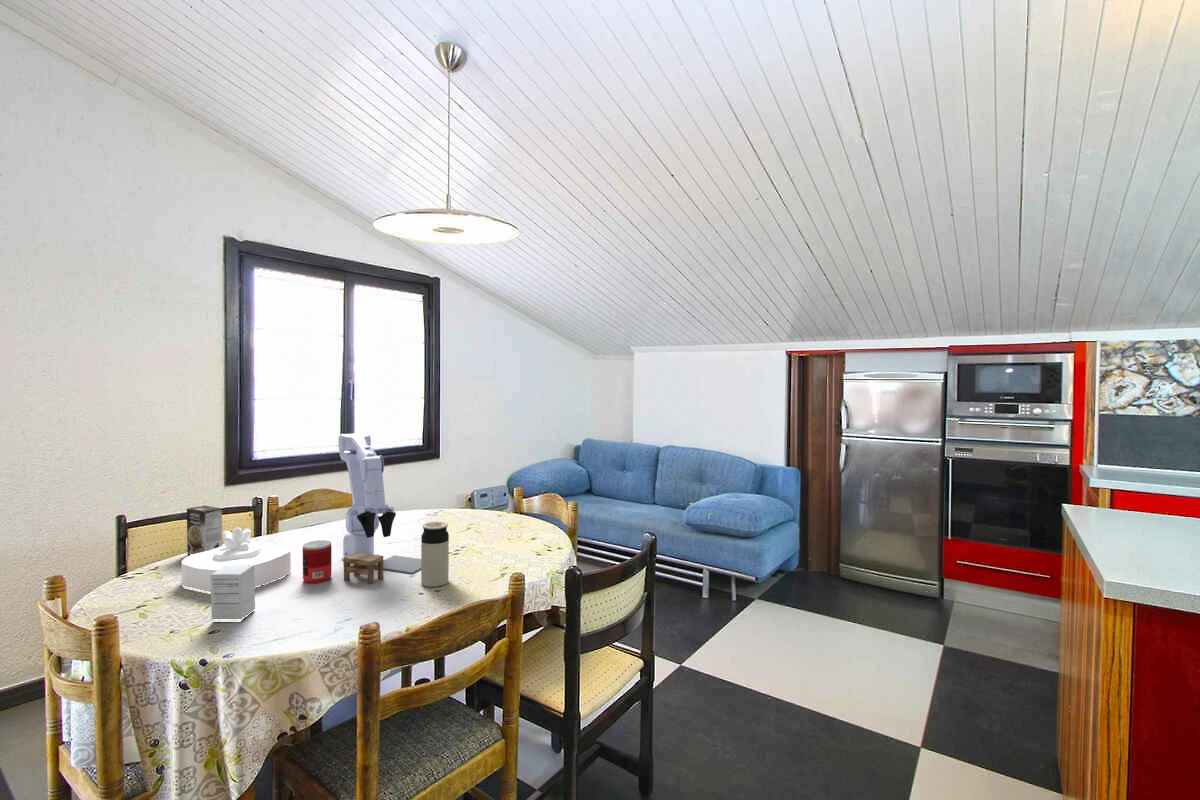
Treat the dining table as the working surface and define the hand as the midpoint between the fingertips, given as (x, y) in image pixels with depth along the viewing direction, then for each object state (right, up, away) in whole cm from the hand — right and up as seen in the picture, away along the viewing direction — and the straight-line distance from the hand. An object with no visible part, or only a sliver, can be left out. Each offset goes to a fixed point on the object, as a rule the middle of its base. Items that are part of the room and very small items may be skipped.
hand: (378, 536), depth 180 cm
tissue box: (-42, -13, -2) cm, 44 cm away
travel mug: (+18, -13, -3) cm, 23 cm away
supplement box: (-26, -14, -30) cm, 42 cm away
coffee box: (-67, -11, +19) cm, 71 cm away
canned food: (-18, -13, -2) cm, 22 cm away
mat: (+3, -12, +12) cm, 18 cm away
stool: (-4, -13, -1) cm, 14 cm away
